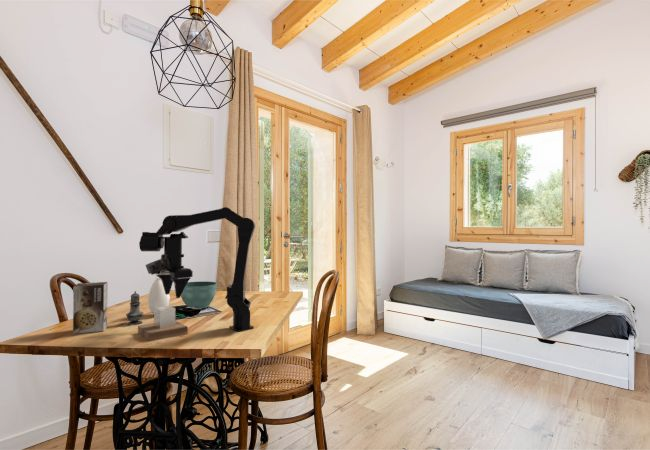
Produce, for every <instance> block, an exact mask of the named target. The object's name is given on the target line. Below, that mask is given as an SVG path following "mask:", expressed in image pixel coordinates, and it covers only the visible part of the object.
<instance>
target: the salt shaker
mask: <svg viewBox="0 0 650 450" xmlns="http://www.w3.org/2000/svg"><path fill="white" fill-rule="evenodd" d="M129 305H130V307H129V308H130V309H129V312H128V313H126V314H125V316H126V319H127V320H128V322H126V325H127V326H139V325H142V324H143V321H142V320H141V319H142V318H143V315H144V312H143V311H141V310H140V305H141V302H140V294H139V293H137V290H135V291H134V293H132V294H131V295H130V303H129Z"/></svg>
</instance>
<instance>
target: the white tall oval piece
mask: <svg viewBox="0 0 650 450" xmlns="http://www.w3.org/2000/svg"><path fill="white" fill-rule="evenodd" d="M170 297H171V296H170V293H169V294H167V295H166V294H165V290H164V287H163V284H162V281H161V279H160V278H159V277H157V276H156V277H155V280H154V281H153V283H152V284H151V286H150V289H149V292H148V297H147V305H148V308H149V310H150V312H151V313H152V314H154V308H159V307H166V306H170V299H171V298H170Z"/></svg>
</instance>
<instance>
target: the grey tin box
mask: <svg viewBox="0 0 650 450" xmlns="http://www.w3.org/2000/svg"><path fill="white" fill-rule="evenodd" d="M153 315H154V316H153V323H154V326H155V327H157V328H159V329H162V328H167V327H173V326H175V321H176V307H174V306H170V305H169V306H166V307H159V308H154V313H153Z"/></svg>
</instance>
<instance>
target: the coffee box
mask: <svg viewBox="0 0 650 450" xmlns="http://www.w3.org/2000/svg"><path fill="white" fill-rule="evenodd" d="M72 288H73V290H72V293H73V296H72V298H73V299H72V300H73V301H72V303H73V304H72V305H73V309H72V310H73V311H72V314H73V315H72V316H73V317H72V319H73V320H72V334H74V335H76V334H85V333H97V332H105V330H107V327H108V281H102V282H100V281H99V282H98V281H97V282H82V283H81V282H80V283H79V282H78V283H77V284H75V285H74V286H73V287H72Z"/></svg>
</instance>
